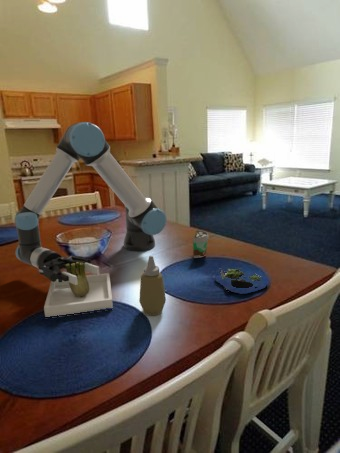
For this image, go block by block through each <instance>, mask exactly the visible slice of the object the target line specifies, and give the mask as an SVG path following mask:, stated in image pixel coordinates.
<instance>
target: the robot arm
mask: <svg viewBox="0 0 340 453" xmlns="http://www.w3.org/2000/svg"><path fill="white" fill-rule="evenodd" d="M55 151H56V153H55V154H54V155H53V157H52V159H51V161H50V163H49V164H48V165H47V167H46V169H45V171H44V172H43V173H42V175H41V177H40V178H39V180H38V182H37V183H36V184H35V186H34V188H33V190H32V191H31V192H30V194H29V196H28V198H27V199H26V201H25V202H24V204H23V206H22V207H21V208H20V210H19V211H17V212H16V214H15V216H14V223H15V224H14V225H15V227H16V233H17V240H18V245H17V247H16V249H15V256H16V258H17V259H18V260H19V261H21V262H22V263H24V264H27V265H30V266H32V267H35V268H37V269H38V273H39V275H43V276H44V277H46V278H47V279H48V280H50V282H51V281H52V282H55V281H56V280H57V279H58V281H59V282H62V280H63V281H67V282H70V283H72V284H74V285H77V284H78V281H77V276H75V275H73V274H70V273H67V271H65V270H64V271H61V270H63V269H66V264H70V267H71V264H73V263H75V266H76V262H79V265H80V263H84V269H85V272H88V273H91V274H92V275H99V274H100V266H98V265H95V264H93V263H92V259H91V258H87V257H81V256H78V255H77V256H76V255H74V254H70V255H69V257H64V256H61V255H60V253H58V252H57V251H54V250H52V249H49V248H45V247H44V246H42V243H41V242H42V240H41V235H40V234H41V233H40V226H39V222H40V221H39V219H40V217H41V216H42V214H43V212H44V210H46V208H47V206H48V205H49V202H50V201H51V200H52V198H53V196H54V195H55V193H56V192H57V190H58V188H59V187H60V185H61V184H62V182H63V181H64V179H65V177H66V176H67V174H68V173H69V171H70V169H71V168H72V166H73V164H74V163H77V162H79V160H80V159H81V161H82V162H83V163H84V164H85V166H87V167H88V166H89V167H93V169H94V170H95V171H96V173H98V175H99V176H100V177H101V178H102V180H103V181H104V182H105V184H106V185H107V186H109V188H110V189H111V190H112V192H113V193H114V194H115V195H116V197H117V198H118V199H119V200H120V202H122V203H123V204H124V210H125V226H126V227H125V229H126V232H125V235H124V240H123V248H124V249H126V250H127V251H132V252H133V251H134V252H143V251H148V250H151V249H153V248H155V246H156V241H155V236H156V235H159V234H160V233H161V232H163V230H164V229H165V228H166V225H167V215H166V213H165V211H163V210H162V209H160V208H159V207H158V206H157V205H156V204H155V202H154V201H153V200H152V198H150V197H145V195H144V194H143V193H142V192H141V191H140V189H139V188H138V186H137V185H136V184H135V183H134V181H133V180H132V179H131V177H130V176H129V175H128V174H127V172H126V171H125V170H124V169H123V167H122V166H121V165H120V163H119V162H118V161H117V160H116V159H115V157H114V156H113V154H111V146H110V144H109V143H108V142H107V140H106V139H105V134H104V133H103V131H102V129H101V128H100V127H99V126H97V125H96V124H94V123H91V122H87V121H82V122H81V121H80V122H78V123H73V124H71V125H69V126H68V127H67V128H66V129H65V132H64V133H63V135H62V137H61V139H60V141H59V142H58V144H57V146H56V148H55ZM76 269H77V266H76ZM66 270H67V269H66Z"/></svg>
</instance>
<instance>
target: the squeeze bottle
mask: <svg viewBox="0 0 340 453" xmlns="http://www.w3.org/2000/svg"><path fill="white" fill-rule="evenodd" d="M163 277H164V276H163V274H162V273H161V272H160V266H158V265H156V262H155V259H154V256H153V255H150V256H148V261H147V265H146V266H144V267H143V273H142V274H141V276H140V284H139V285H140V286H139V287H140V288H139V299H138V301H139V304H140V306H141V308H142V309H141V310H143V313H144V314H145V315H147V316H157V315H160V314H161V313H162V312H163V310H164V306H165V305H166V300H167V299H166V297H167V296H166V291H165V284H164V283H165V282H164V278H163Z"/></svg>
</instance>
